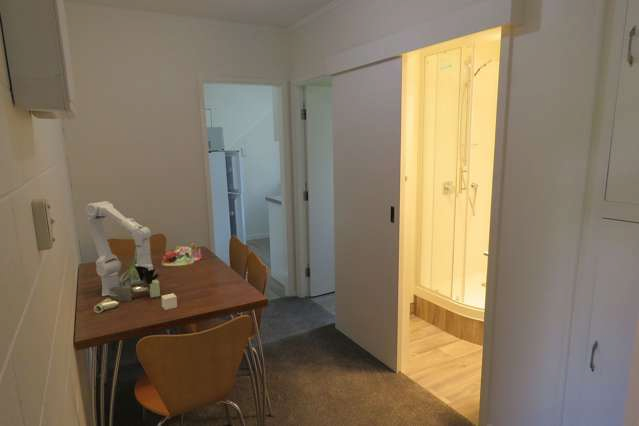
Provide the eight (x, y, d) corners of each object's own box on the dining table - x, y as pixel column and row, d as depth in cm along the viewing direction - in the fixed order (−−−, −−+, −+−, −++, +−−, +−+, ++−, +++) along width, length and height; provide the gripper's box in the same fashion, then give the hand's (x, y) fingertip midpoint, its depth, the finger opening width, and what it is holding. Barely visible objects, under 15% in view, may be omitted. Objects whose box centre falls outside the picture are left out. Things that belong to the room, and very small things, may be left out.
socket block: (149, 293, 186) (148, 280, 185) (158, 292, 188) (157, 279, 187) (150, 297, 181) (149, 284, 180) (160, 295, 183) (159, 283, 182)
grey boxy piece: (110, 300, 178) (109, 287, 177) (131, 297, 182) (130, 284, 181) (110, 304, 173) (109, 291, 172) (131, 300, 177) (130, 287, 176)
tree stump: (105, 284, 202) (109, 247, 204) (141, 282, 220) (144, 248, 222) (128, 288, 193) (132, 250, 194) (164, 285, 211) (167, 250, 212)
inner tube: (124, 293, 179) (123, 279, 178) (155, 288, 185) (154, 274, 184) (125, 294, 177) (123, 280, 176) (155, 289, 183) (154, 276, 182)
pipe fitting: (120, 307, 172) (105, 305, 172) (119, 298, 171) (104, 297, 171) (109, 314, 164) (94, 313, 164) (109, 305, 163) (93, 304, 163)
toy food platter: (163, 257, 252) (162, 243, 250) (201, 254, 259) (200, 240, 257) (160, 268, 228) (159, 252, 227) (202, 264, 235) (201, 249, 234)
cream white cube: (162, 306, 170) (161, 295, 169) (173, 303, 173) (172, 293, 172) (165, 310, 166) (164, 299, 165) (177, 307, 169) (176, 296, 168)
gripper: (128, 252, 182) (131, 280, 184) (140, 258, 172) (143, 287, 174) (144, 249, 187) (146, 277, 189) (156, 255, 177) (159, 283, 179)
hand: (146, 281), depth 182 cm, fingers open, 7 cm apart
